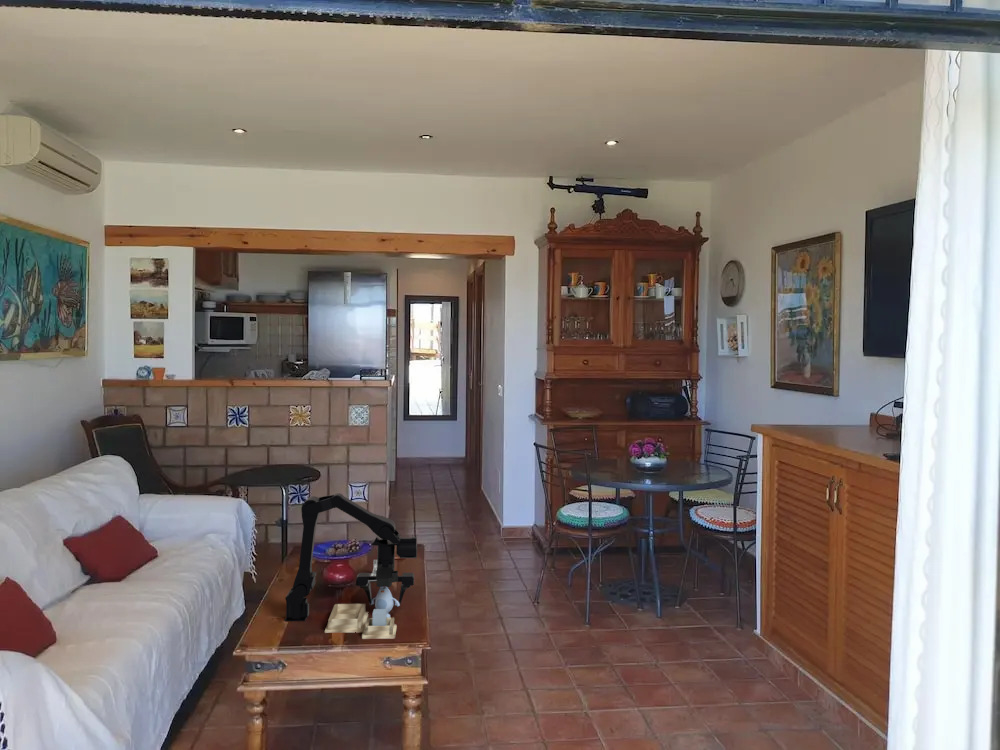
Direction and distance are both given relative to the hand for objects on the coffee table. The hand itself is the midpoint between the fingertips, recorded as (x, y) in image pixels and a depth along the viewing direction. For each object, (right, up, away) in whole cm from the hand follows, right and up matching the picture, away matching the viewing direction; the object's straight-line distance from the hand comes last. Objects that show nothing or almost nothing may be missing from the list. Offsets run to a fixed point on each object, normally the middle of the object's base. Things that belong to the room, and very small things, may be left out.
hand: (385, 604), depth 250 cm
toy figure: (0, -5, 0) cm, 5 cm away
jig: (-6, -5, -8) cm, 11 cm away
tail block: (0, -4, -13) cm, 14 cm away
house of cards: (-8, -3, +42) cm, 43 cm away
